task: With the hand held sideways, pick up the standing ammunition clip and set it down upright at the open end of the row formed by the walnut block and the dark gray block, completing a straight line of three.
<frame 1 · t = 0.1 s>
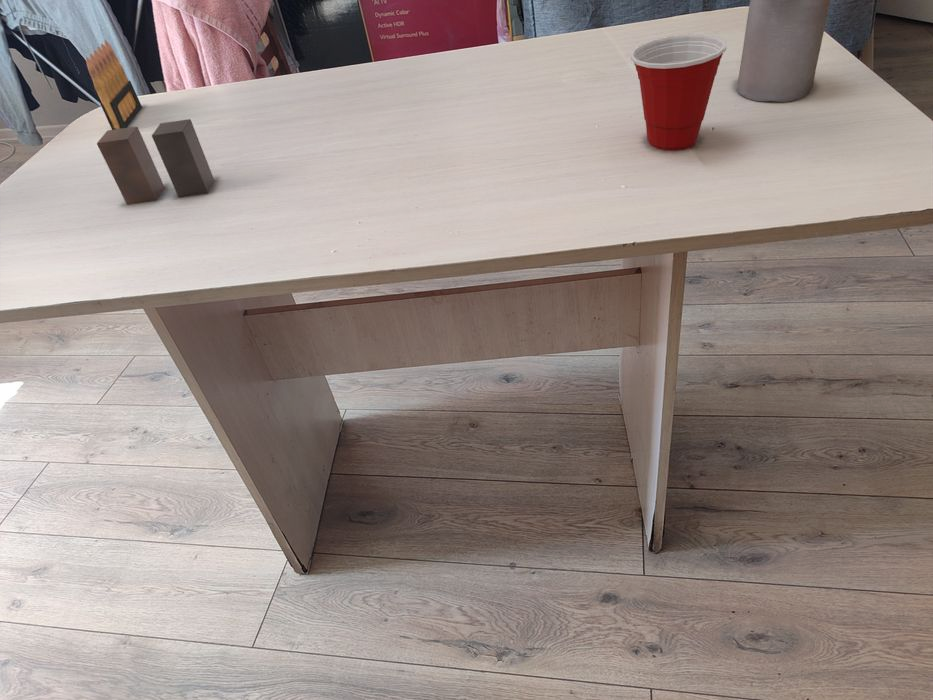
walnut block: (147, 198, 92), on the table
ammunition clip: (129, 122, 116), on the table
plastic cup: (669, 144, 86), on the table
dark gray block: (197, 191, 91), on the table
pillar candle: (772, 91, 95), on the table
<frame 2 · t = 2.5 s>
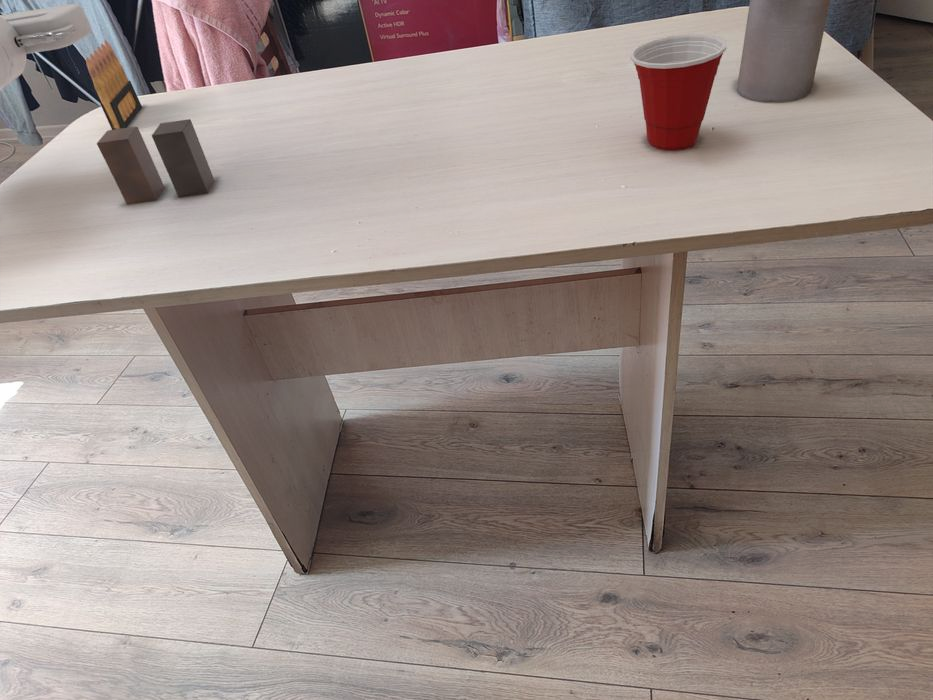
hand: (28, 19, 91), 20 cm above the table, tool horizontal, fingers open, 8 cm apart
nothing on the table moved.
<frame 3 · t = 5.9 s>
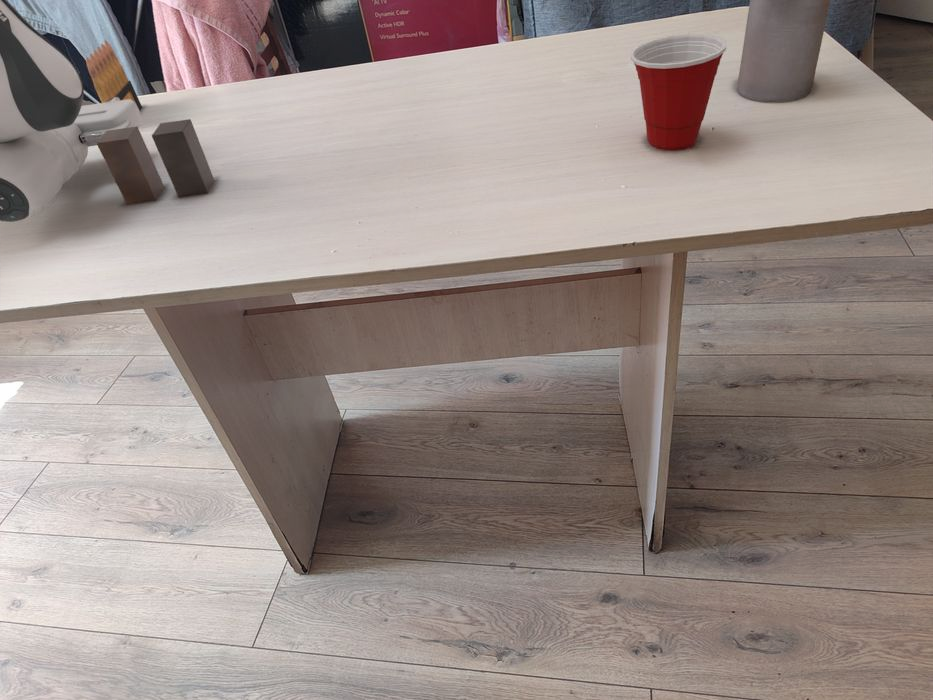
hand: (85, 106, 102), 7 cm above the table, tool horizontal, fingers open, 8 cm apart
nothing on the table moved.
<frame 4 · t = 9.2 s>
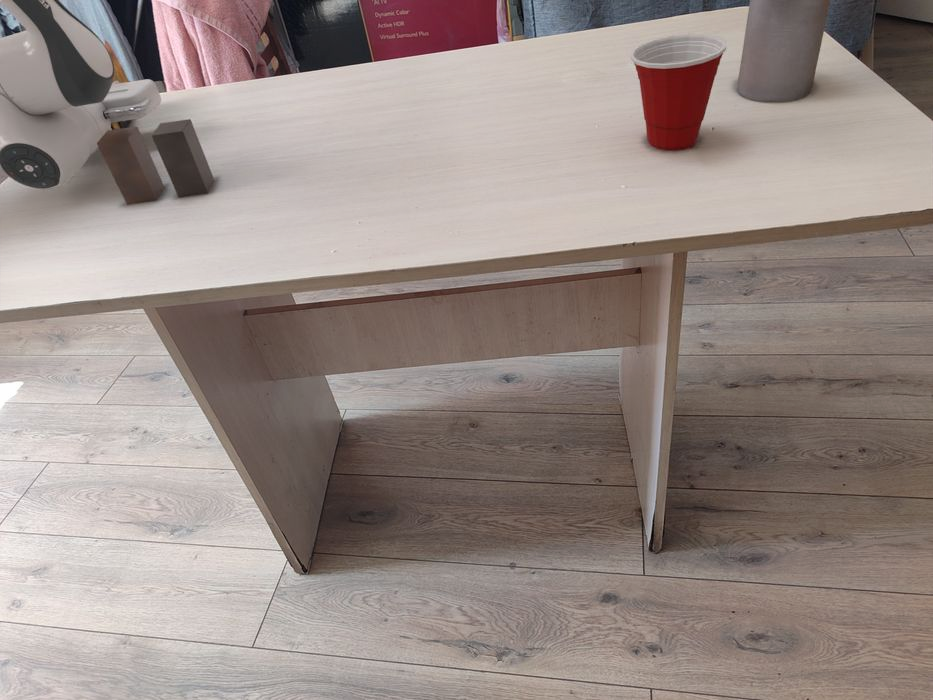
hand: (107, 87, 110), 7 cm above the table, tool horizontal, fingers closed on ammunition clip, 2 cm apart
ammunition clip: (129, 122, 116), on the table, touching gripper
everything else where it was.
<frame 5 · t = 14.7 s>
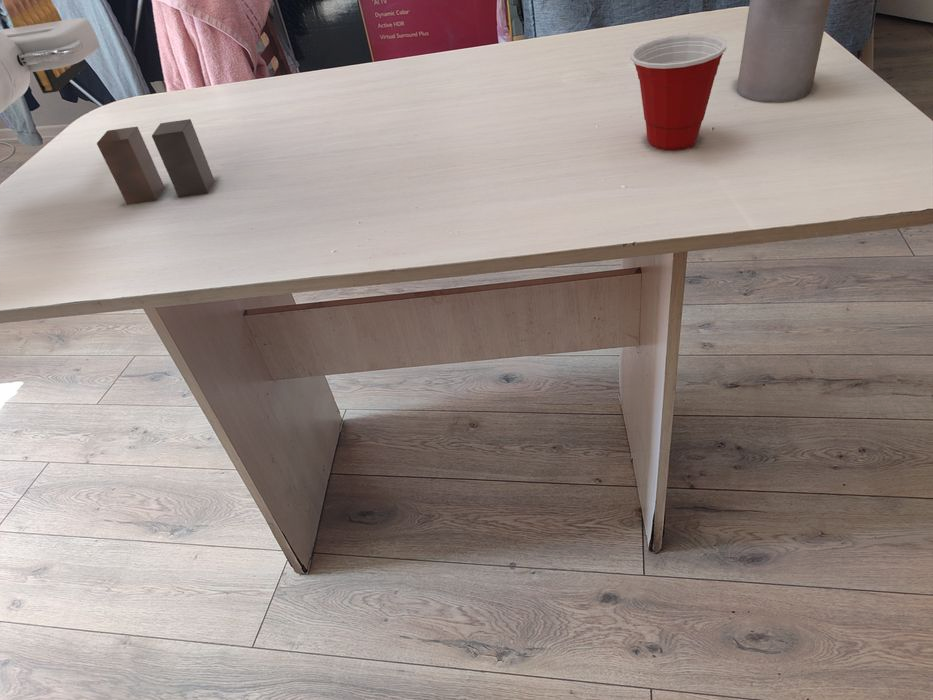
hand: (33, 32, 86), 20 cm above the table, tool horizontal, fingers closed on ammunition clip
ammunition clip: (66, 80, 92), point 13 cm above the table, touching gripper
everything else where it was.
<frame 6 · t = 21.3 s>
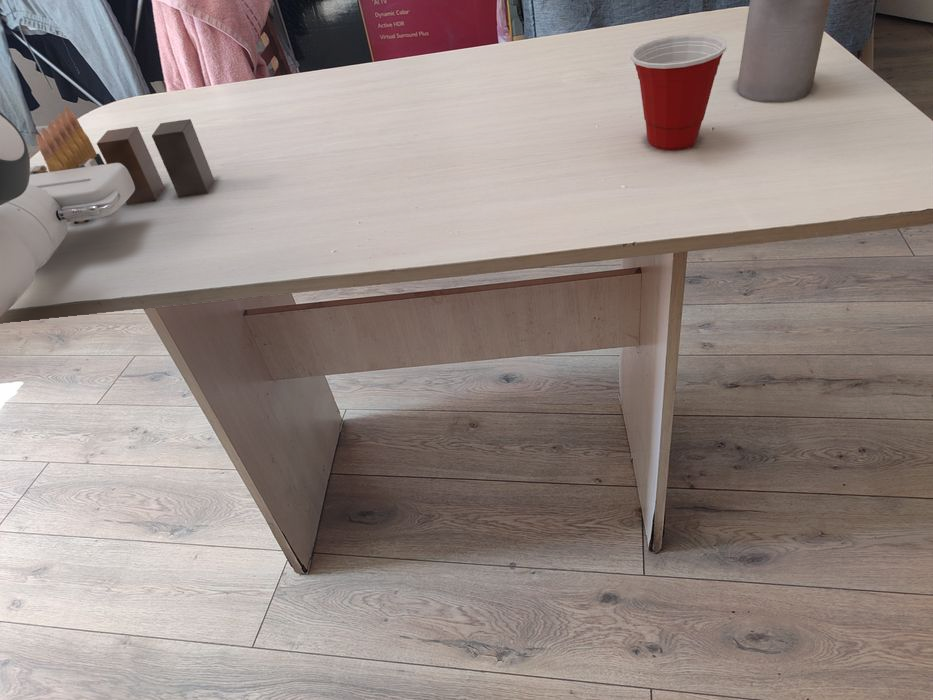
hand: (67, 167, 86), 6 cm above the table, tool horizontal, fingers open, 5 cm apart
ammunition clip: (97, 206, 92), on the table
everything else where it was.
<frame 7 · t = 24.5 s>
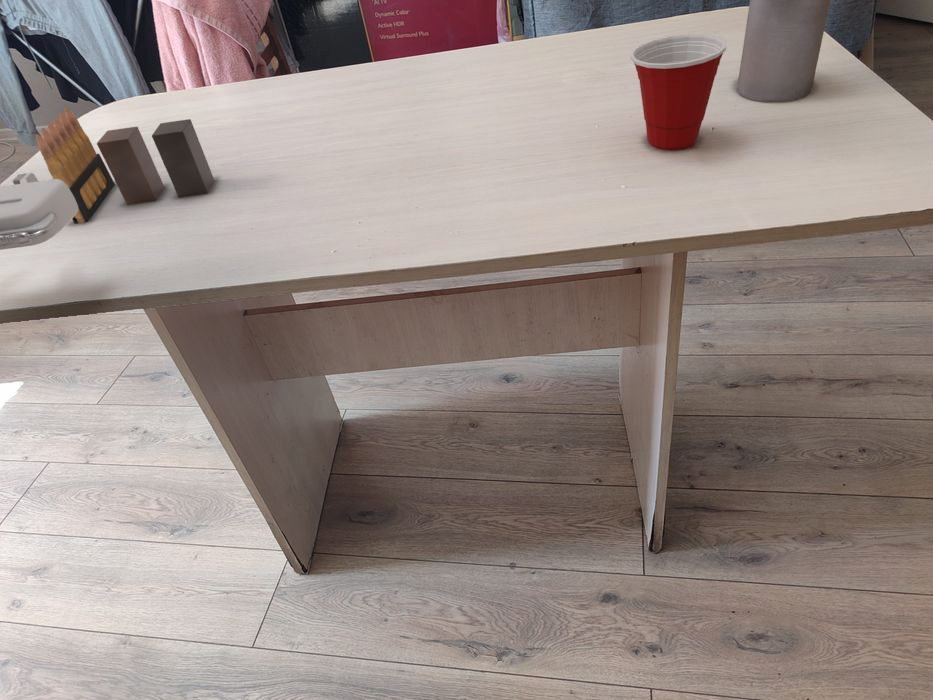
hand: (1, 183, 73), 11 cm above the table, tool horizontal, fingers open, 5 cm apart
nothing on the table moved.
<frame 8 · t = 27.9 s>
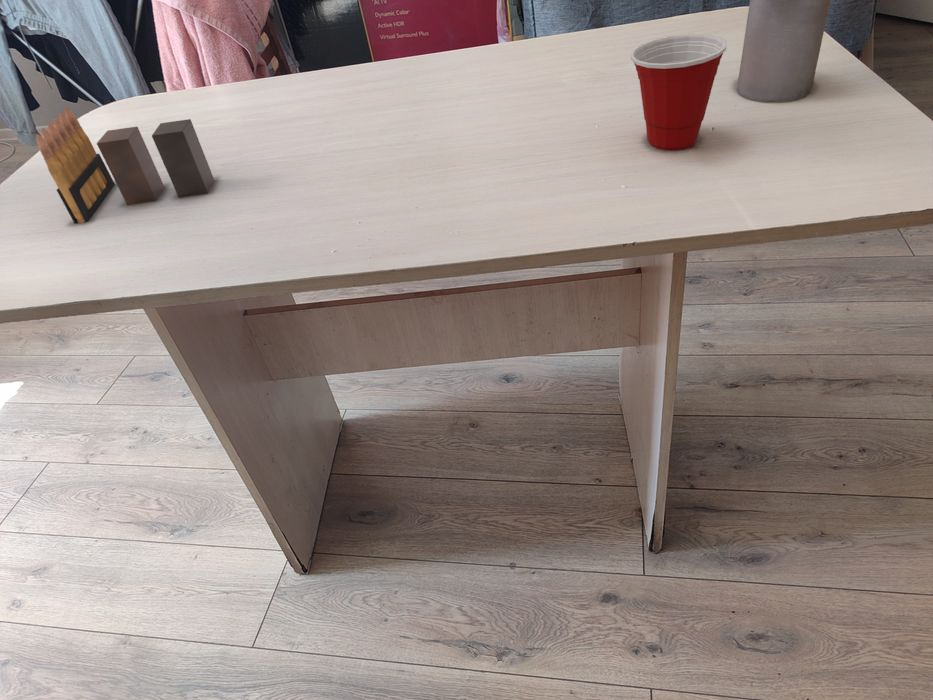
nothing on the table moved.
at the end: ammunition clip 0.1 cm from the target spot on the table beside the dark gray block, on the table; ammunition clip tilted 0°; walnut block moved 0.0 cm from its start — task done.
